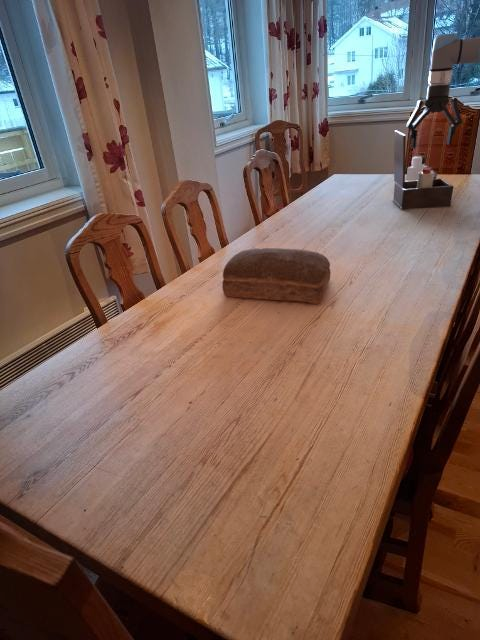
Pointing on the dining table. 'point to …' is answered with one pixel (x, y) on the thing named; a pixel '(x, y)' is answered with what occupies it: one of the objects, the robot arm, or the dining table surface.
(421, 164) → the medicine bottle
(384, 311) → the dining table surface
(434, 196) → the open box
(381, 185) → the dining table surface
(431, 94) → the robot arm
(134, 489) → the dining table surface
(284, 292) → the bread
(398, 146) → the lid
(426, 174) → the bottle
